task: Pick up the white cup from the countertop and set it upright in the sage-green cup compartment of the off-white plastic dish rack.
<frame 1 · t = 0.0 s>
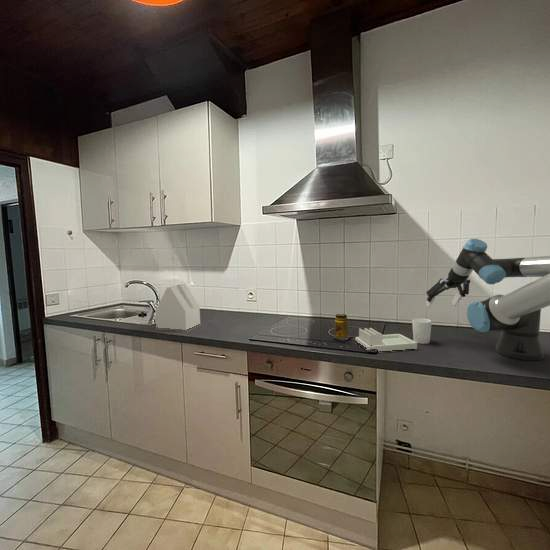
hand: (440, 304, 148), 15 cm above the worktop, tool tilted 35°, fingers open, 13 cm apart
dish rack: (384, 346, 137), on the worktop
white house-shaped block: (179, 328, 181), on the worktop
condiment: (342, 339, 150), on the worktop
white cup: (421, 342, 142), on the worktop
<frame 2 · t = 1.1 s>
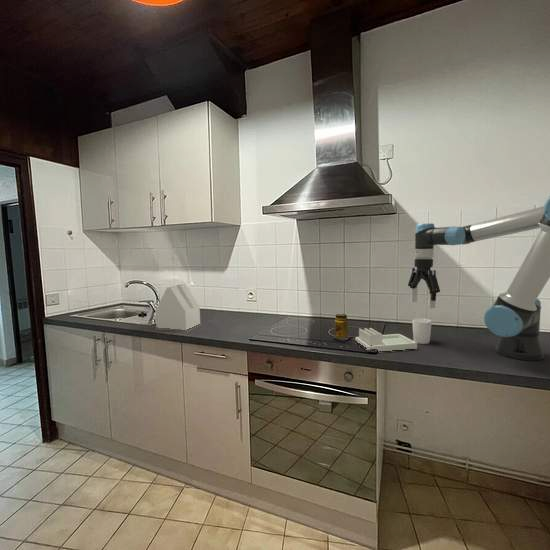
hand: (422, 304, 141), 17 cm above the worktop, tool pointing down, fingers open, 13 cm apart
nothing on the worktop moved.
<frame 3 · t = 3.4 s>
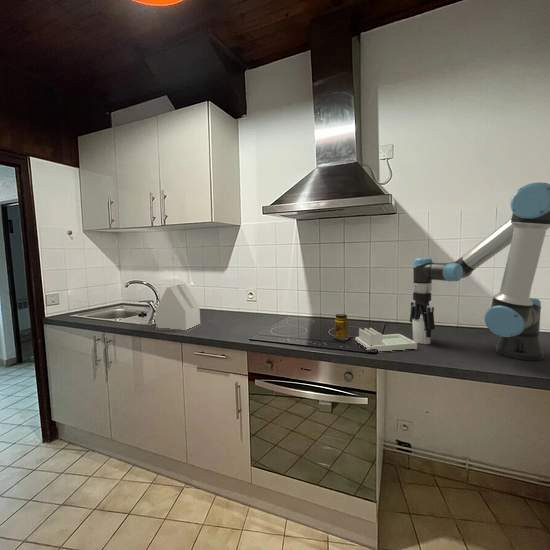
hand: (421, 340, 142), 0 cm above the worktop, tool pointing down, fingers closed on white cup, 8 cm apart
white cup: (421, 342, 142), on the worktop, touching gripper
everything else where it was.
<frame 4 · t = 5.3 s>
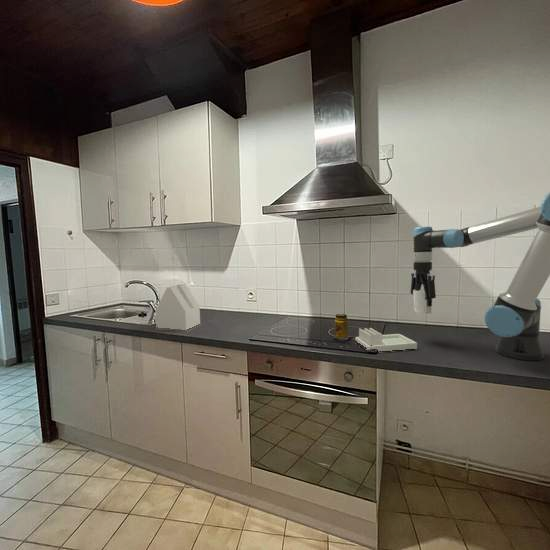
hand: (422, 311, 140), 14 cm above the worktop, tool pointing down, fingers closed on white cup, 7 cm apart
white cup: (422, 312, 140), point 14 cm above the worktop, touching gripper
everything else where it was.
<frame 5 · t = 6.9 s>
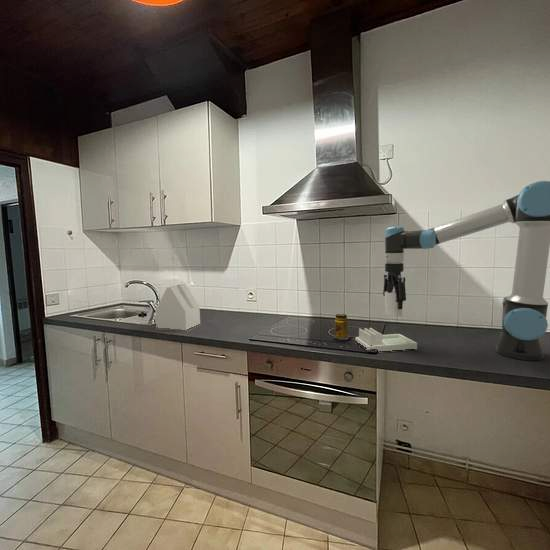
hand: (393, 314, 136), 14 cm above the worktop, tool pointing down, fingers closed on white cup, 7 cm apart
white cup: (393, 315, 136), point 14 cm above the worktop, touching gripper
everything else where it was.
when the fingers open (4 cm above the worktop, at t = 9.5 s): white cup drops 2 cm, resting on dish rack.
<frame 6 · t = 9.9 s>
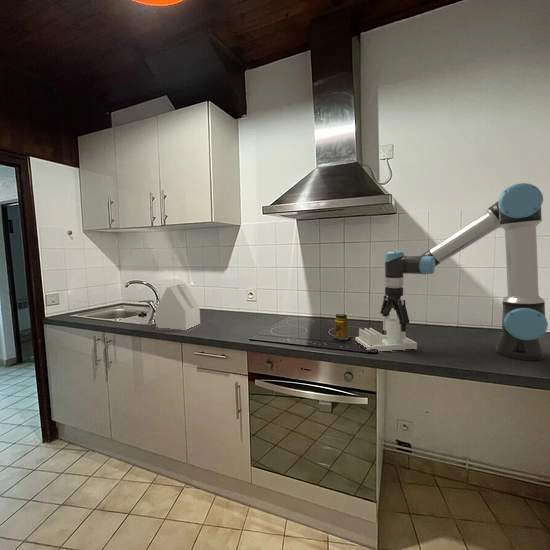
hand: (393, 334, 137), 5 cm above the worktop, tool pointing down, fingers open, 13 cm apart
white cup: (395, 343, 136), point 1 cm above the worktop, touching dish rack
everything else where it was.
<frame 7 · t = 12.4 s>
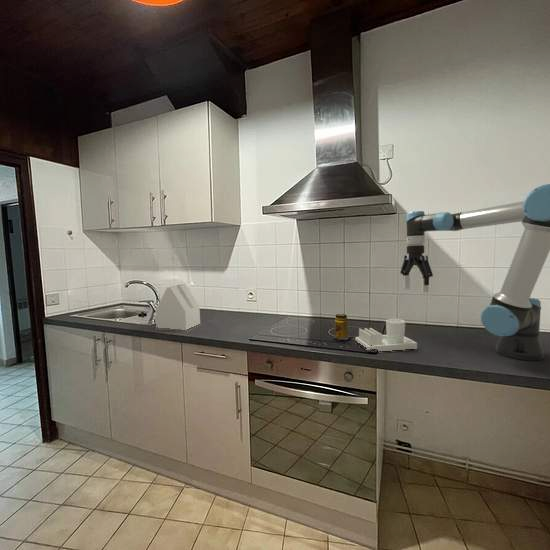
hand: (415, 290, 145), 23 cm above the worktop, tool pointing down, fingers open, 13 cm apart
nothing on the worktop moved.
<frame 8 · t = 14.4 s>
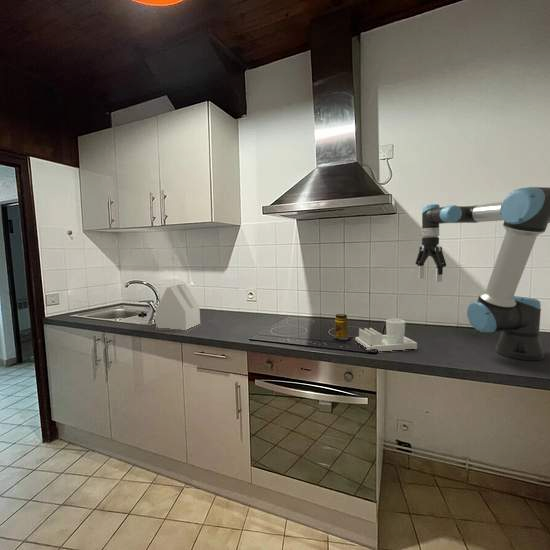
hand: (429, 280, 153), 27 cm above the worktop, tool pointing down, fingers open, 13 cm apart
nothing on the worktop moved.
at the end: white cup 1.2 cm from the target spot on the dish rack, point 1.3 cm above the dish rack's base; white cup tilted 0°; the gripper is holding nothing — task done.
